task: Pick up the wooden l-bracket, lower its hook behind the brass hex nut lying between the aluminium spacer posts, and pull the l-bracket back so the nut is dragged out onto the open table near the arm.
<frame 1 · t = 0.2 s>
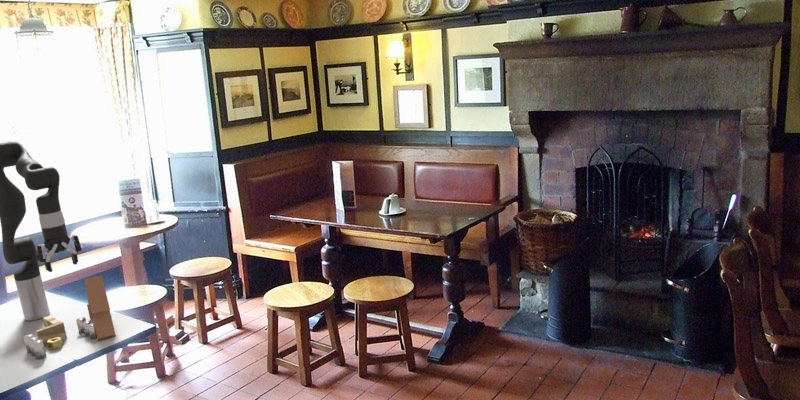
hand: (62, 267, 232), 28 cm above the table, tool pointing down, fingers open, 8 cm apart
spacers: (62, 344, 237), on the table
nut: (56, 347, 235), on the table
tan tall stepped post: (103, 327, 250), on the table, touching spacers
wooden l-bracket: (55, 334, 247), on the table
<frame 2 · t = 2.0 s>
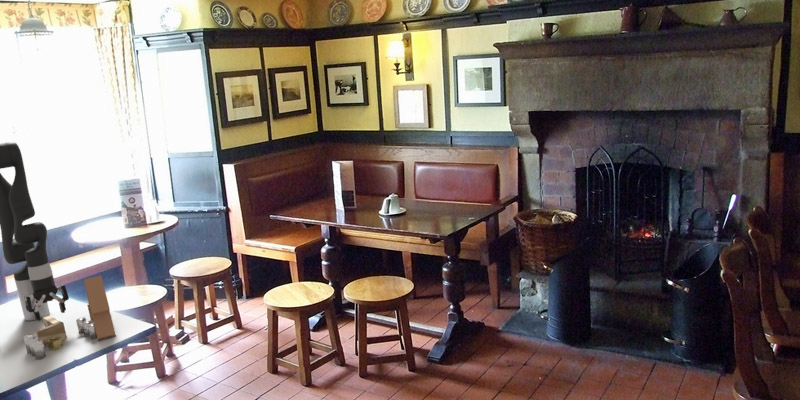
hand: (51, 316, 245), 7 cm above the table, tool pointing down, fingers open, 8 cm apart
nothing on the table moved.
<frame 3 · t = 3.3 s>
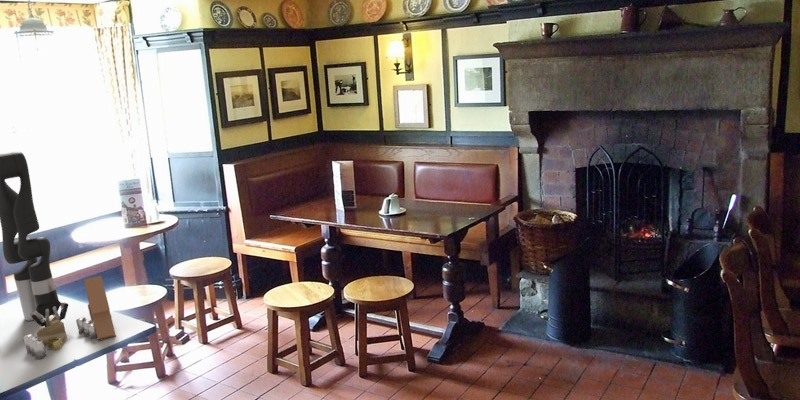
hand: (54, 332, 247), 1 cm above the table, tool pointing down, fingers closed on wooden l-bracket, 2 cm apart
wooden l-bracket: (55, 334, 247), on the table, touching gripper
everything else where it was.
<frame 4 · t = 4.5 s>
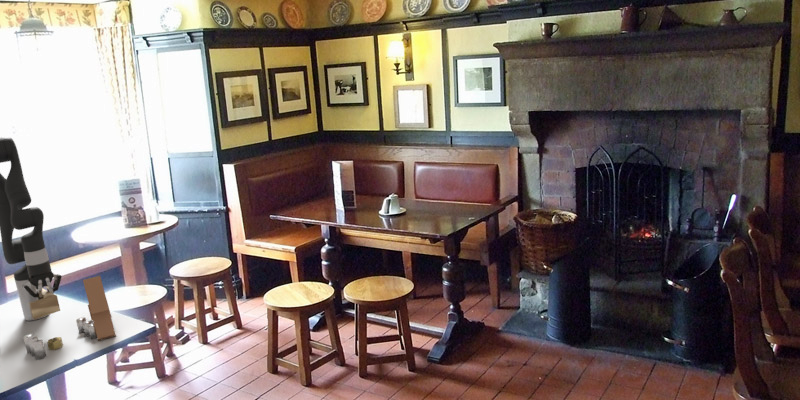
hand: (47, 304, 245), 12 cm above the table, tool pointing down, fingers closed on wooden l-bracket, 2 cm apart
wooden l-bracket: (48, 307, 245), point 11 cm above the table, touching gripper
everything else where it was.
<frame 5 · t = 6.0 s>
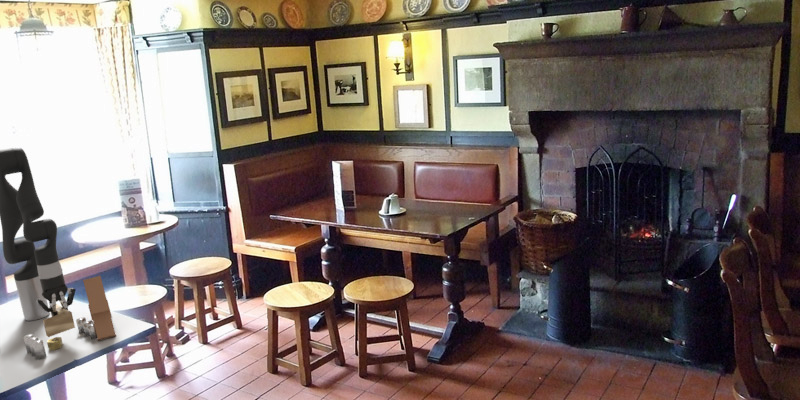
hand: (61, 318, 237), 9 cm above the table, tool pointing down, fingers closed on wooden l-bracket, 2 cm apart
wooden l-bracket: (62, 323, 238), point 7 cm above the table, touching gripper
everything else where it was.
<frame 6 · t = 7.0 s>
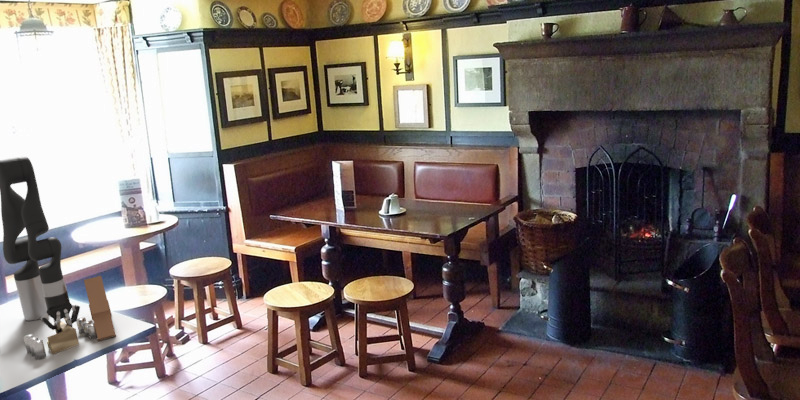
hand: (66, 336, 239), 2 cm above the table, tool pointing down, fingers closed on wooden l-bracket, 2 cm apart
wooden l-bracket: (66, 340, 240), on the table, touching gripper
everything else where it was.
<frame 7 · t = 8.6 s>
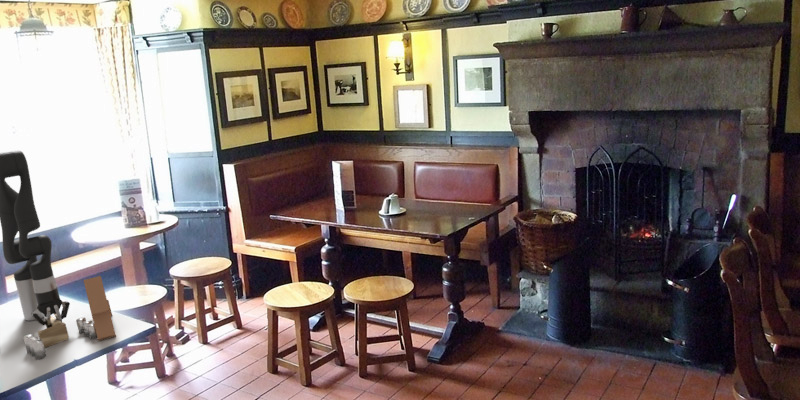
hand: (56, 331, 245), 2 cm above the table, tool pointing down, fingers closed on wooden l-bracket, 2 cm apart
nut: (48, 342, 240), on the table
wooden l-bracket: (57, 335, 246), on the table, touching gripper
everything else where it was.
when the fingers open (2 cm above the table, at t = 10.5 s): wooden l-bracket stays where it is, on the table.
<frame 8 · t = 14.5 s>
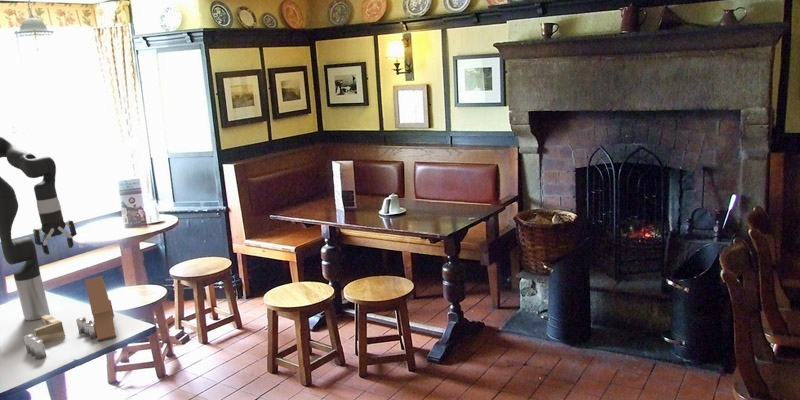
hand: (59, 250, 249), 30 cm above the table, tool pointing down, fingers open, 8 cm apart
nut: (45, 339, 243), on the table
wooden l-bracket: (53, 333, 248), on the table
at the end: nut inside the target area (2.7 cm from its centre), on the table; the gripper is holding nothing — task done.
